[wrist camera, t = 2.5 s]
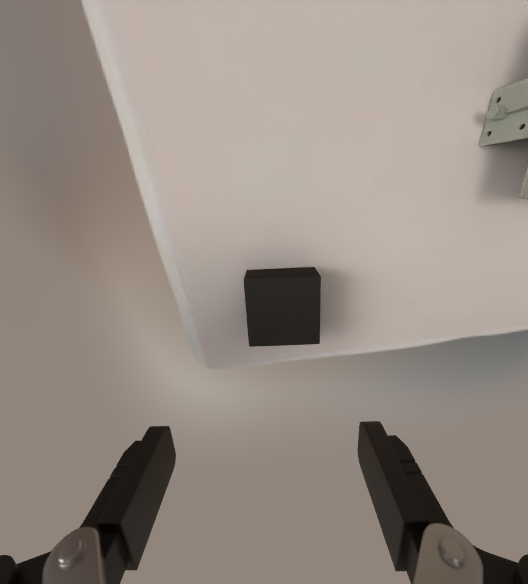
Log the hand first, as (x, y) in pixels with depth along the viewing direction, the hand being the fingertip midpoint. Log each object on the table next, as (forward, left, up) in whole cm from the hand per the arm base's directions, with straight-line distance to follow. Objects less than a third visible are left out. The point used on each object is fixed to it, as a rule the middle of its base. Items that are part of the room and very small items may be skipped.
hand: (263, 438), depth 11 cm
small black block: (+1, +1, -14) cm, 14 cm away
